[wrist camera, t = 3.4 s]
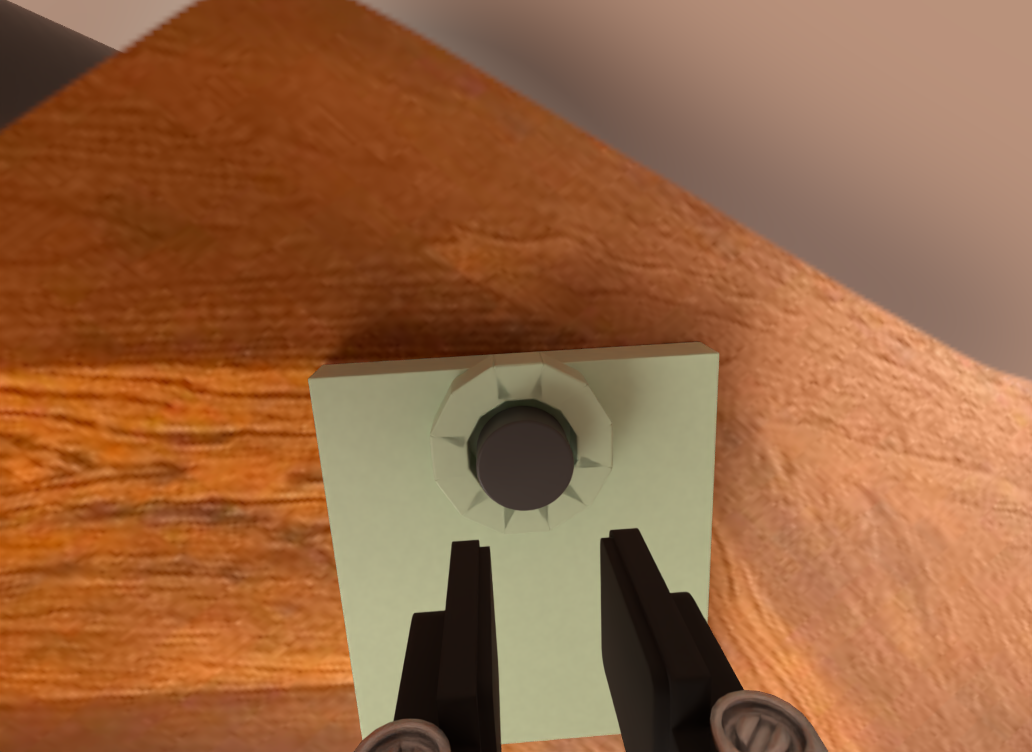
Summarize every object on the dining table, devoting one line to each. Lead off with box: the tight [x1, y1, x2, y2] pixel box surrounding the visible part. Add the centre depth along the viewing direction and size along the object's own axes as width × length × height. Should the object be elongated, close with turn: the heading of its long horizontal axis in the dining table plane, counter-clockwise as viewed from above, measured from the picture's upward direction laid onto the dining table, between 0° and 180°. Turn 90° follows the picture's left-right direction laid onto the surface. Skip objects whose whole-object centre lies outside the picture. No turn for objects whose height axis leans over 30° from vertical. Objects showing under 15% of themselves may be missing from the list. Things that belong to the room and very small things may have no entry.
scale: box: [308, 342, 719, 744], centre depth 22 cm, size 16×14×4 cm
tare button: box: [476, 406, 574, 511], centre depth 19 cm, size 3×3×2 cm
